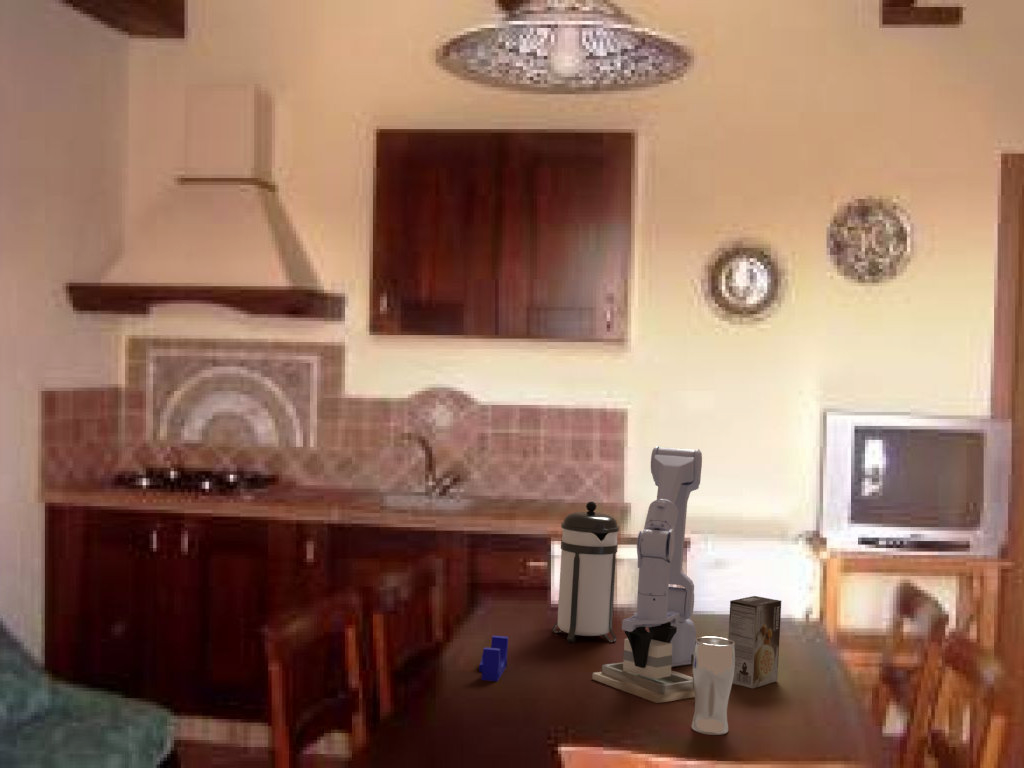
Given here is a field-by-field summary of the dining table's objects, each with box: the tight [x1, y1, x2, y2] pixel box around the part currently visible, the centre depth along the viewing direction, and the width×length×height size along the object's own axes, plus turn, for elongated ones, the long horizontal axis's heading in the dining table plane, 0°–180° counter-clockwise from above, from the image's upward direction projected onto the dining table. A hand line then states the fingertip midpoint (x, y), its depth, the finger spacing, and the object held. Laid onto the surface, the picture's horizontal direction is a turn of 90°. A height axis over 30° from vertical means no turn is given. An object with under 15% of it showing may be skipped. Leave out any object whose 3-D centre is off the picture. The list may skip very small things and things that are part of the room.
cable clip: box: [478, 635, 509, 682], centre depth 239 cm, size 12×4×6 cm, turn 172°
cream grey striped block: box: [622, 638, 672, 679], centre depth 234 cm, size 4×8×6 cm, turn 44°
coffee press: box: [552, 501, 620, 644], centre depth 275 cm, size 17×16×30 cm
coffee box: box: [727, 595, 783, 690], centre depth 242 cm, size 9×6×16 cm
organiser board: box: [591, 654, 695, 704], centre depth 235 cm, size 16×18×7 cm
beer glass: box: [691, 636, 735, 736], centre depth 209 cm, size 7×7×15 cm
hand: (648, 665), depth 234 cm, fingers closed on cream grey striped block, 4 cm apart
